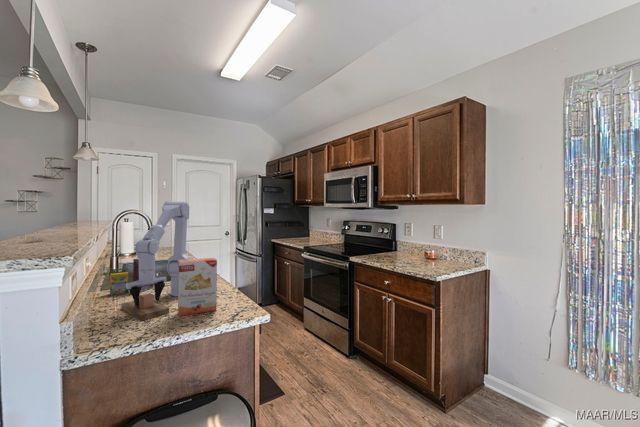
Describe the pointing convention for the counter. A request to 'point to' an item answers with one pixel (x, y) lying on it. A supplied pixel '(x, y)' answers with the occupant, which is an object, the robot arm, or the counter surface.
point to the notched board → (144, 310)
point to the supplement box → (136, 276)
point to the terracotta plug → (146, 300)
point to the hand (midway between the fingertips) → (147, 302)
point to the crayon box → (119, 281)
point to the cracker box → (197, 286)
